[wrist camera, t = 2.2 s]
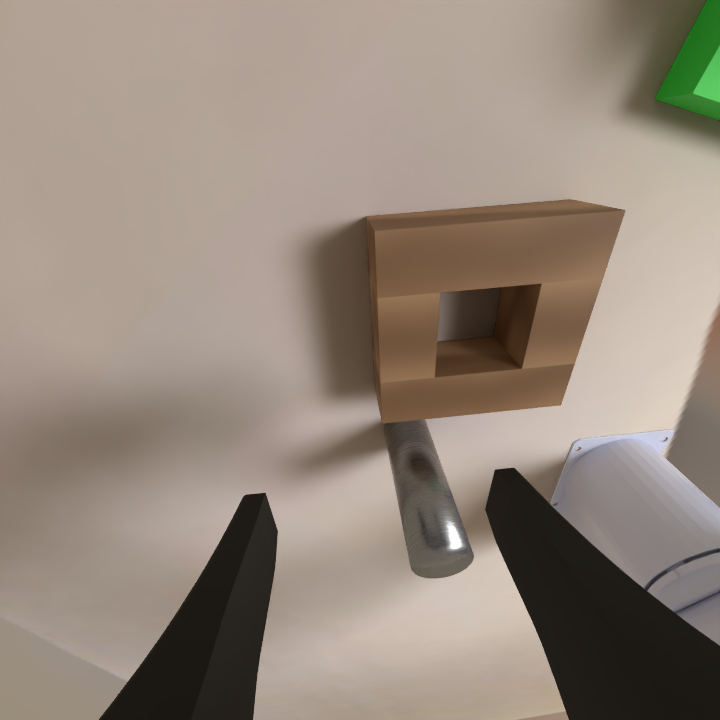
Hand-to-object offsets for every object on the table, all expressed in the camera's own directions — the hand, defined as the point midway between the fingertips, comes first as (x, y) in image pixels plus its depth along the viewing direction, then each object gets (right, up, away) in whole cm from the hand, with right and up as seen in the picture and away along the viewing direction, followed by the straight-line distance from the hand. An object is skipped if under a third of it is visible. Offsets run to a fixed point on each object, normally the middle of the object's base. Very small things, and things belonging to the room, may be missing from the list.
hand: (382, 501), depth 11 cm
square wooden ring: (+5, +8, +8) cm, 12 cm away
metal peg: (+2, 0, +13) cm, 13 cm away
